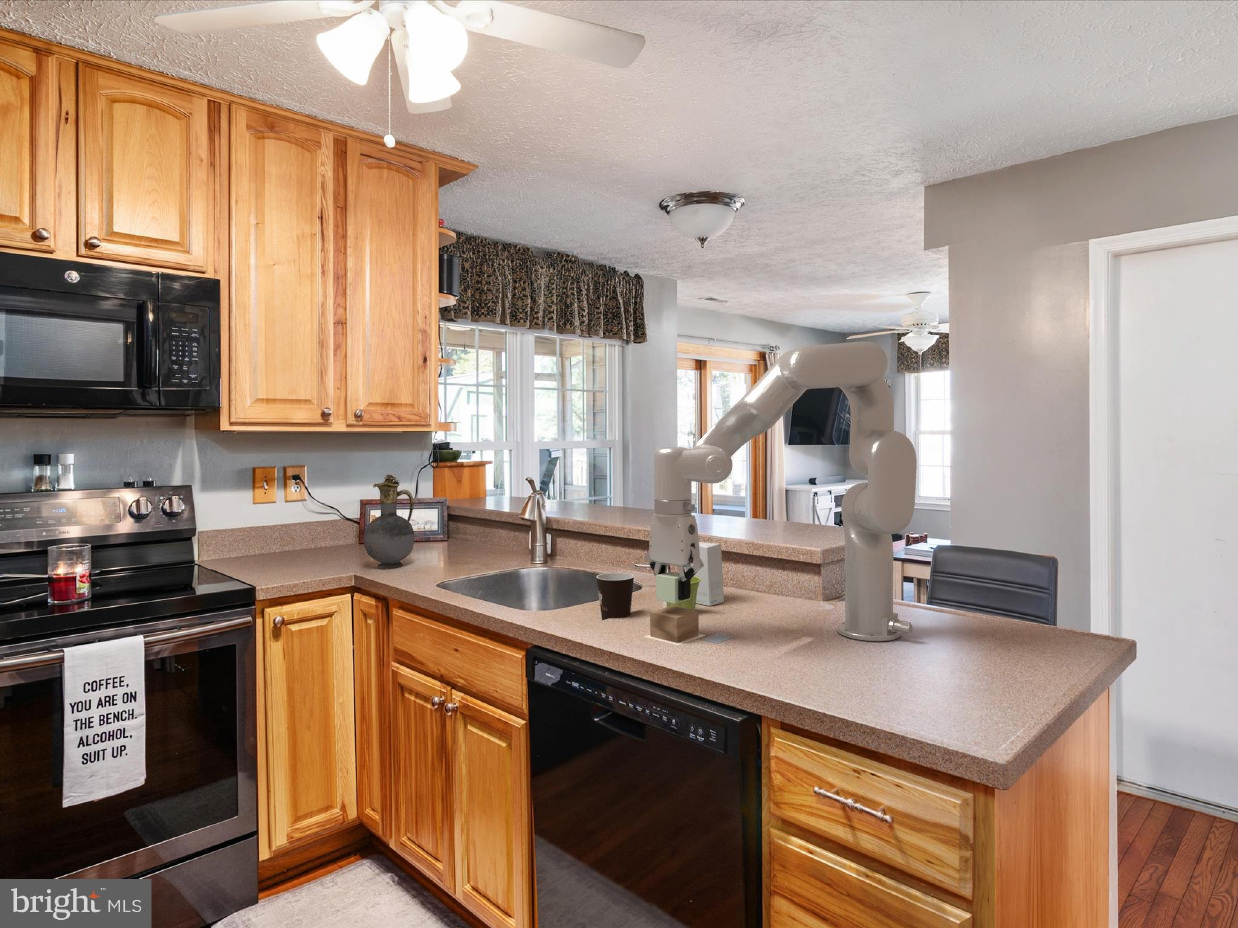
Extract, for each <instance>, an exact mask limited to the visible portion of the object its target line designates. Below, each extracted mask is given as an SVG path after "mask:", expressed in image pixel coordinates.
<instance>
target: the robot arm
mask: <svg viewBox="0 0 1238 928" xmlns="http://www.w3.org/2000/svg"><path fill="white" fill-rule="evenodd" d="M888 360H889V359H888V355H887V353H886V352H885V350H884V349H883V348H882V346H880V345H879V344H876V343H875V342H871V341H854V342H842V343H841V342H839V343H829V344H827V343H826V344H812V345H811V344H810V345H808V344H807V345H802V346H800V347H796V348H794V349H791V350H788V351H786V352H783V354H782V355H780V356H779V357H778V358H777V359H776V360H775V362H774V363H773V364H772V365H771V366H770V367H769V368H768V369H767V370H766V372H765V373H764V374H763V375H762V376H761V377H760V378H758V380H757V381H756V382H755V384H754V385H753V386H752V387H750V389H749V390H748V391H747V392H745V394H744V395H743V397H741V398H740V399H739V400H738V401H736V402H737V403H735V404H734V405H733V406H731V408H730V409H729V410H728V411H727V412H726V413H725V414H724V415H723V416H722V417H721V418H720V419H719V420H718V421H717V422H715V424H713V425H712V427H711V428H710V429H709V430H708V431H707V432H706V433H705V434H704V435H702V437H701V438H700V440H698V442H696V444H695V445H693V447H692V448H687V447H684V446H683V447H681V446H677V447H676V446H666V447H665V446H662V447H659V448H657V449H655V451H654V456H653V461H654V462H653V472H654V473H653V475H654V476H653V478H654V479H653V481H654V483H653V484H654V485H653V486H654V487H653V489H654V490H653V491H654V492H653V493H654V496H653V497H654V498H653V499H654V500H653V501H654V503H653V504H654V507H653V508H654V510H653V511H654V513H653V514H652V517H651V521H650V529H649V542H648V544H649V546H648V550H647V552H646V553H645V554H644V556H643V557H644V560H645V561H646V562H647V564H648V565H649V567H650V569H651V570H652V571H653V575H654V576H655V577H656V575H659V574H664V573H668V568H669V565H671V566H677V570H678V573H679V574H680V579H681V580H679V581H678V599H679V600H681V601H682V600H686V599H689V598H690V594H691V579H693V576H694V575H695V574H696V573H697V572H698V571H699V570H700V569H701V568H703V567H704V564H703V562H702V560H701V558H700V548H699V542H700V538H699V537H700V536H699V535H700V534H699V529H698V528H699V527H698V523H697V519H696V516H695V515H694V514H693V513H692V512H693V511H695V510H696V505H695V504H694V503H693V502H692V500H693V499H692V491H693V490H692V482H696V483H704V484H710V485H711V484H719V483H721V482H723V481H725V480H726V479H727V478H729V476H730V475H731V473H732V470H733V461H732V457H733V455H734V454H736V453H737V452H738V451H739V450H740V449H741V448H742V447H743V446H744V445H746V444H747V443H748V442H749V441H751V440H753V439H755V438H756V437H758V436H760V435H762V434H765V433H766V432H767V431H769V430H770V429H772V427H774V426H775V425H776V423H778V421H779V420H780V419H781V418H782V417H783V416H784V415H785V414H786V413H787V411H788V410H790V408H791V407H792V406H793V405H794V404H795V403H796V401H798V400H799V398H801V396H802V395H803V394H804V393H805V392H806V391H807V390H812V389H832V388H839V389H840V390H842V392H843V393H844V394H845V396H846V398H847V400H848V403H849V407H850V408H849V410H850V430H849V433H850V434H849V447H848V449H849V451H848V453H849V454H848V457H849V463H850V465H851V467H852V468H853V470H854V471H856V473H858V474H861V475H864V476H867V482H866V481H865V482H863V481H862V482H859V483H856V484H854V485H853V486H851V487H849V488H848V489H847V491H846V492H845V494H844V495H843V496H842V501H841V508H840V509H841V519H842V525H843V532H844V621H842V622H840V623H839V624H837V633H839V634H840V635H842V636H844V637H846V638H849V639H853V640H859V641H865V642H887V641H893V640H896V639H899V638H900V637H901V636H902V633H904V634H910V635H911V634H912V632H913V624H912V622H911V621H906V620H900V618H899V613H898V612H895V611H894V544H893V542H894V541H893V536H892V535H895V534H899V533H901V532H903V531H904V530H905V529H907V527H908V526H909V525H910V523H911V522H912V519H913V517H914V513H915V508H916V507H915V506H916V504H915V503H916V492H917V491H916V489H917V486H916V485H917V469H918V468H917V467H918V466H917V465H918V463H917V462H918V461H917V452H916V449H915V446H914V445H913V442H912V441H911V440H910V437H909V438H908V436H907V435H905V434H904V433H902V432H900V431H896V430H895V404H894V397H893V393H892V391H891V389H890V386H889V385H888V382H887V381H886V380H885V379H884V376H885V374H886V372H887V371H888V370H887V369H888V365H889V361H888ZM691 563H693V566H692V567H691ZM684 567H685V568H684ZM685 569H686V572H685Z"/></svg>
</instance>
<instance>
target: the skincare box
mask: <svg viewBox="0 0 1238 928" xmlns="http://www.w3.org/2000/svg"><path fill="white" fill-rule="evenodd" d="M699 548H700V558H701V560H702V562H703V564H704V567H703V568H701V569H700V570H699V571H698V572H697V573H696V574H695V575H694V576H695V577H699V578H700V579H701V581H700V582H699V587H698V589H697V597H696V605H697V604H698V605H703V606H709V607H711V606H715V605H718V604H719V605H720V604H722V603H724V601H725V595H724V594H725V593H724V592H725V591H724V575H723V574H724V573H723V559H722V558H723V557H722V543H717V542H715V543H714V542H706V541H705V542H703V541H699ZM692 566H693V563H691V567H692ZM684 568H685V567H684ZM685 572H686V569H685Z"/></svg>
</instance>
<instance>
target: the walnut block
mask: <svg viewBox="0 0 1238 928" xmlns="http://www.w3.org/2000/svg"><path fill="white" fill-rule="evenodd" d="M649 614H650V615H649V631H650V632H649V633H650V634H649V635H650V637H654V638H658V639H662V640H666V641H671V642H675V643H679V642H682V641H685V640H687V639H690V638H693V637H696V636H699V634H700V630H699V629H700V625H699V623H700V621H699V614H700V613H699V610H696V609H695V610H690V609H685V608H680V607H675V606H670V607H667V606H666V607H664V608H660V609H658V610H653V611H650V612H649Z"/></svg>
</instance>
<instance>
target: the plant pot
mask: <svg viewBox="0 0 1238 928" xmlns="http://www.w3.org/2000/svg"><path fill="white" fill-rule="evenodd" d="M700 581H701V579H700V578H699V577H695V576H693V579H691V599H690V600H686V601H682V602H679V603H670V602H665V603H666V608H667V607H670V606H675V607H680V608H685V609H690V610H695V611H696V606H697V603H696V597H697V589H698V587H699V582H700Z"/></svg>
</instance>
